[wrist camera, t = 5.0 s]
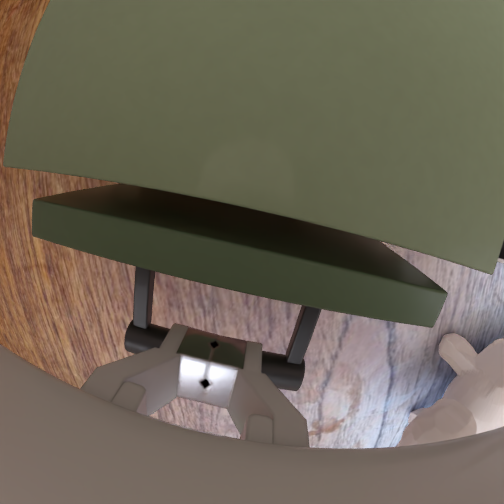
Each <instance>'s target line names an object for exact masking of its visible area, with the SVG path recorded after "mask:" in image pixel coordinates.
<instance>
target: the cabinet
mask: <svg viewBox="0 0 504 504" xmlns="http://www.w3.org/2000/svg"><path fill="white" fill-rule="evenodd" d="M3 166H4V167H11V168H19V169H28V170H36V171H44V172H51V173H58V174H65V175H72V176H79V177H86V178H92V179H99V180H105V181H111V182H117V183H123V184H129V185H135V186H140V187H146V188H151V189H157V190H162V191H167V192H173V193H178V194H183V195H188V196H193V197H198V198H203V199H208V200H213V201H218V202H222V203H227V204H232V205H236V206H241V207H246V208H250V209H254V210H259V211H263V212H268V213H272V214H276V215H281V216H285V217H289V218H293V219H297V220H302V221H306V222H310V223H314V224H318V225H322V226H326V227H330V228H334V229H337V230H341V231H345V232H349V233H353V234H357V235H360V236H364V237H368V238H371V239H375V240H379V241H382V242H386V243H389V244H393V245H397V246H400V247H403V248H407V249H410V250H414V251H417V252H421V253H424V254H427V255H431V256H434V257H437V258H440V259H444V260H447V261H450V262H453V263H457V264H460V265H463V266H466V267H469V268H472V269H475V270H478V271H481V272H484V273H487V274H490V275H492V274H493V272H494V269H495V266H496V263H497V260H498V257H499V254H500V251H501V247H502V244H503V241H504V0H50V2H49V4H48V6H47V8H46V10H45V12H44V14H43V17H42V19H41V21H40V23H39V26H38V28H37V30H36V33H35V35H34V38H33V40H32V43H31V46H30V48H29V51H28V54H27V57H26V60H25V63H24V66H23V69H22V72H21V76H20V79H19V83H18V86H17V90H16V94H15V98H14V102H13V107H12V111H11V116H10V121H9V127H8V132H7V139H6V145H5V153H4V162H3Z"/></svg>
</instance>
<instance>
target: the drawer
mask: <svg viewBox="0 0 504 504" xmlns="http://www.w3.org/2000/svg"><path fill="white" fill-rule="evenodd" d="M32 235H33V236H34V237H37V238H40V239H44V240H47V241H50V242H53V243H56V244H60V245H63V246H66V247H70V248H73V249H76V250H80V251H83V252H86V253H90V254H93V255H97V256H100V257H104V258H107V259H111V260H115V261H118V262H122V263H126V264H129V265H133V266H136V271H135V287H134V310H133V320H132V321H131V322H130V324H129V326H128V328H127V331H126V334H125V342H124V344H125V349H126V350H127V351H129V352H132V353H134V354H138V353H141V352H143V351H146V350H149V349H152V348H154V347H156V348H160V346H161V344H162V342H163V341H164V339H165V337H166V336H167V334H168V332H169V330H170V329H168V328H165V327H161V326H158V325H154V324H151V316H152V302H153V289H154V278H155V271H156V272H159V273H163V274H167V275H171V276H175V277H179V278H183V279H187V280H191V281H195V282H200V283H204V284H208V285H212V286H216V287H221V288H225V289H229V290H234V291H238V292H242V293H247V294H251V295H256V296H261V297H265V298H270V299H275V300H279V301H284V302H289V303H294V304H299V305H302V307H301V310H300V313H299V316H298V319H297V322H296V325H295V328H294V331H293V334H292V337H291V340H290V343H289V346H288V349H287V351H286V355H282V354H277V353H271V352H266V351H262V366H261V373H263V374H266V375H267V376H268V377H269V379H270V380H271V381H272V382H273V383H274V384H275V385H276V387H277V388H279V389H285V390H292V391H297V390H298V389H299V388H300V386H301V384H302V381H303V378H304V373H305V361H304V359H303V358H304V355H305V353H306V350H307V347H308V345H309V342H310V340H311V337H312V334H313V332H314V329H315V326H316V323H317V321H318V318H319V315H320V312H321V309H324V310H329V311H335V312H340V313H346V314H351V315H357V316H362V317H368V318H374V319H380V320H386V321H392V322H398V323H404V324H411V325H417V326H424V327H431V328H432V327H433V326H434V325H435V322H436V320H437V318H438V316H439V314H440V311H441V309H442V307H443V305H444V302H445V300H446V297H447V294H448V293H447V292H446V291H445V290H444V289H443V288H441V287H440V286H439V285H438V284H436V283H435V282H434V281H432V280H431V279H430V278H429V277H427V276H426V275H425V274H423V273H422V272H421V271H419V270H418V269H417V268H415V267H414V266H413V265H411V264H410V263H409V262H407V261H406V260H405V259H403V258H402V257H401V256H399V255H398V254H397V253H395V252H394V251H392V250H391V249H390V248H388V247H387V246H385V245H384V244H383V243H381V242H380V241H378V240H375V239H371V238H368V237H364V236H360V235H357V234H353V233H349V232H345V231H341V230H337V229H334V228H330V227H326V226H322V225H318V224H314V223H310V222H306V221H302V220H297V219H293V218H289V217H285V216H281V215H276V214H272V213H268V212H263V211H259V210H254V209H250V208H246V207H241V206H236V205H232V204H227V203H222V202H218V201H213V200H208V199H203V198H198V197H193V196H188V195H183V194H178V193H173V192H167V191H162V190H157V189H151V188H146V187H140V186H135V185H129V184H123V183H120V184H113V185H107V186H101V187H94V188H89V189H83V190H77V191H72V192H66V193H61V194H56V195H51V196H46V197H42V198H37V199H34V200H33V207H32Z"/></svg>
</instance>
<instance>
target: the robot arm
mask: <svg viewBox="0 0 504 504" xmlns="http://www.w3.org/2000/svg"><path fill="white" fill-rule="evenodd" d="M261 366H262V343H257V342H252V341H245V340H240V339H235V338H230V337H225V336H220V335H218V334H214V333H210V332H206V331H202V330H199V329H195V328H192V327H188V326H184V325H180V324H177V323H175V324H173V325H172V327H171V329H170V330H169V332H168V334H167V336H166V337H165V339H164V341H163V342H162V344H161V346H160V348H156V347H154V348H152V349H149V350H146V351H143V352H141V353H138V354H135V355H132V356H129V357H126V358H123V359H121V360H118V361H115V362H112V363H109V364H106V365H103V366H100V367H97V368H96V369H95V370H94V372H93V373H92V374H91V375H90V377H89V378H88V379H87V381H86V382H85V383H84V385H83V386H82V387H81V388H80V389H79V388H77V387H74V386H72V385H70V384H68V383H66V382H64V381H62V380H60V379H58V378H56V377H55V376H53V375H51V374H49V373H47V372H45V371H44V370H42V369H40V368H38V367H37V366H35V365H33V364H31V363H30V362H28V361H26V360H25V359H23V358H21V357H20V356H18V355H17V354H15V353H13V352H12V351H10V350H9V349H7V348H6V347H4V346H3V345H1V344H0V504H504V426H503V427H500V428H497V429H494V430H490V431H486V432H482V433H478V434H474V435H470V436H465V437H461V438H456V439H451V440H445V441H439V442H433V443H426V444H418V445H409V446H399V447H386V448H362V449H335V448H311V447H309V438H308V429H307V420H306V419H305V418H304V417H303V416H302V415H301V413H300V412H299V411H298V410H297V409H296V408H295V407H294V406H293V405H292V404H291V402H290V401H289V400H288V399H287V398H286V397H285V396H284V395H283V393H282V392H281V391H280V390H279V389H278V388H277V387H276V385H275V384H274V383H273V382H272V381H271V380H270V379H269V377H268V376H267V375H266V374H263V373H261ZM176 396H177V397H181V398H185V399H189V400H193V401H198V402H202V403H206V404H210V405H214V406H218V407H222V408H226V409H228V412H229V414H230V416H231V418H232V420H233V422H234V424H235V426H236V428H237V429H238V431H239V433H240V435H241V437H240V439H237V438H231V437H226V436H221V435H217V434H212V433H207V432H203V431H199V430H195V429H191V428H187V427H183V426H180V425H176V424H173V423H169V422H166V421H162V420H159V419H156V418H153V417H150V416H149V415H151V414H153V413H154V412H156V411H157V410H159V409H160V408H162V407H163V406H165V405H166V404H168V403H169V402H171V401H172V400H174V399H175V398H176Z"/></svg>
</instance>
